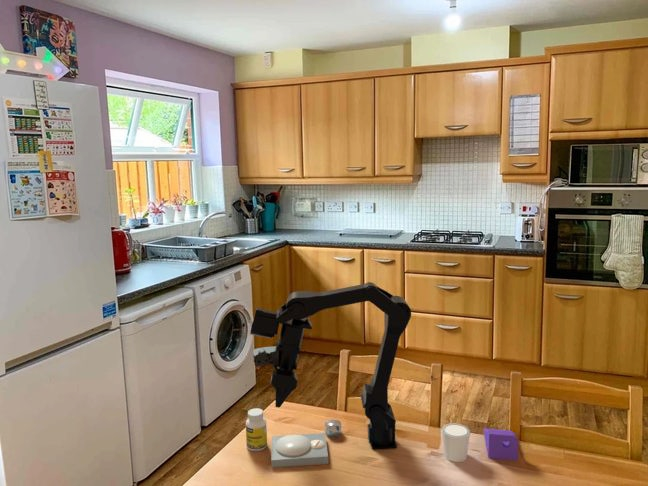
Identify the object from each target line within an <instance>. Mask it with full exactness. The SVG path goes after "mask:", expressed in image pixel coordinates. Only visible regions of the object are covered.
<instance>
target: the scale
mask: <svg viewBox="0 0 648 486" xmlns="http://www.w3.org/2000/svg"><path fill="white" fill-rule="evenodd" d="M326 439H327V437H326V435H325V432H320V433H319V432H318V433H316V432H315V433H299V434H287V435H272V436H271V452H270V453H271V455H270V462H271V463H270V464H271V466H270V467H271V468H272V469H273V468H284V467H285V468H286V467H299V466H313V465H314V466H315V465H316V466H317V465H328V464H329V454H328V453H329V452H328V446H327V440H326Z"/></svg>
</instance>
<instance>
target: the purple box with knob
mask: <svg viewBox="0 0 648 486" xmlns="http://www.w3.org/2000/svg"><path fill="white" fill-rule="evenodd" d="M483 436H484V441H485V447H486V452H487V458H488V459H495V460H505V461H506V460H509V461H518V456H519V455H518V453H519V440H518V436H517V434H516V433H515V432H514V431H511V430H507V429H496V428H495V429H494V428H493V429H492V428H483Z"/></svg>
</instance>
